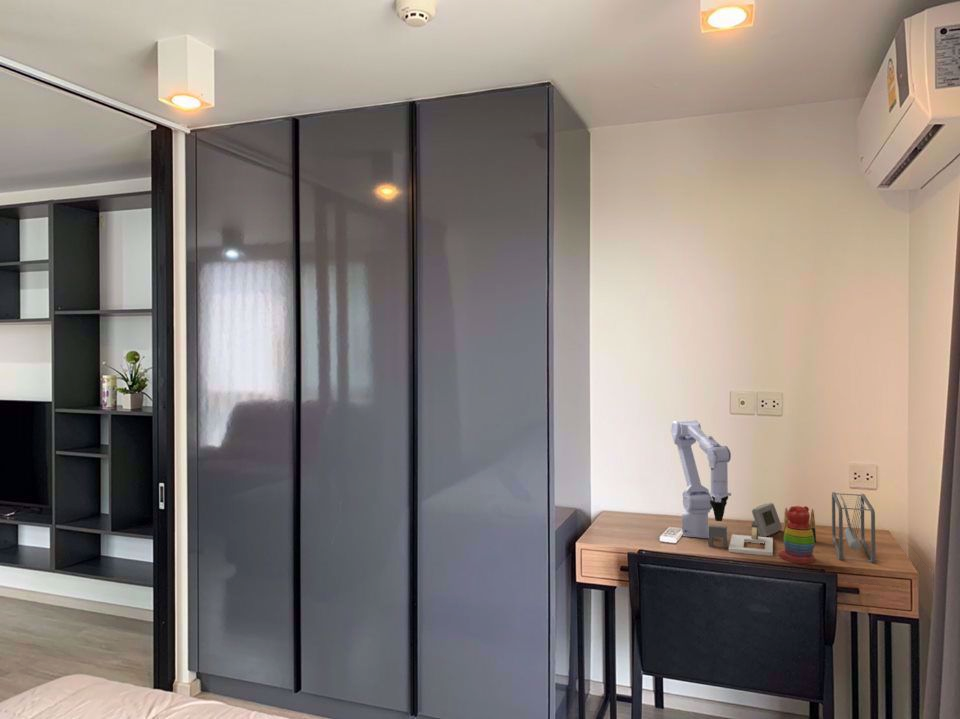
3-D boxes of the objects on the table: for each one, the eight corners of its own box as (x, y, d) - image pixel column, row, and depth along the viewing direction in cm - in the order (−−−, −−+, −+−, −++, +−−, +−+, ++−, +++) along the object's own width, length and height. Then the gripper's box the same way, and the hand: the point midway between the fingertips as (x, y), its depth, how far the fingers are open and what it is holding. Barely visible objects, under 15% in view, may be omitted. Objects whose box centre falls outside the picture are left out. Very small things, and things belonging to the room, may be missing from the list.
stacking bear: (808, 554, 236) (807, 502, 236) (822, 563, 226) (821, 509, 225) (776, 555, 236) (775, 502, 236) (788, 564, 226) (788, 509, 226)
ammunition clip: (784, 540, 254) (783, 507, 254) (783, 539, 256) (783, 506, 256) (816, 542, 251) (815, 509, 251) (815, 541, 253) (814, 508, 253)
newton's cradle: (832, 538, 256) (831, 490, 256) (864, 541, 252) (863, 492, 252) (839, 561, 228) (838, 507, 228) (875, 564, 224) (875, 510, 224)
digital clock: (763, 539, 256) (763, 510, 256) (742, 534, 264) (742, 506, 264) (789, 532, 265) (789, 504, 265) (768, 528, 273) (768, 500, 273)
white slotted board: (728, 551, 240) (728, 534, 240) (732, 537, 259) (731, 521, 259) (772, 556, 235) (772, 537, 235) (772, 541, 253) (772, 524, 253)
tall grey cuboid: (708, 546, 247) (708, 526, 247) (709, 544, 250) (709, 525, 250) (726, 548, 245) (726, 528, 245) (727, 546, 247) (726, 526, 247)
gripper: (730, 484, 239) (730, 524, 239) (732, 477, 253) (732, 514, 253) (708, 483, 242) (708, 522, 242) (711, 476, 255) (712, 513, 255)
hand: (719, 518), depth 247 cm, fingers open, 7 cm apart
